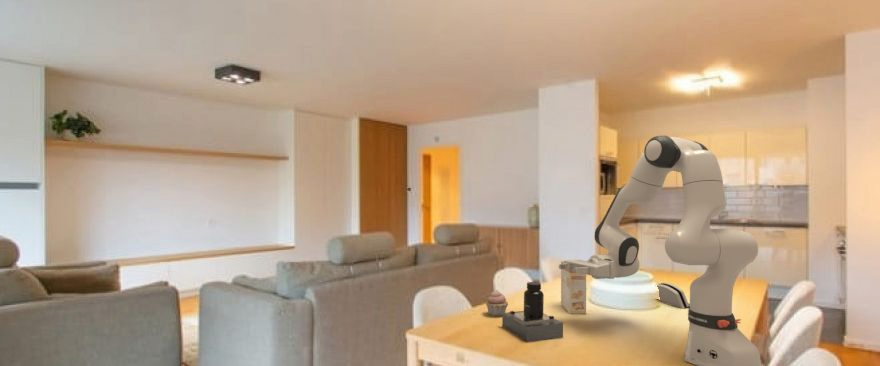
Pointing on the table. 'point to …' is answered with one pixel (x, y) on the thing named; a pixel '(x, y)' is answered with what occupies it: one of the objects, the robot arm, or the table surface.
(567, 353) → the table surface
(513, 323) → the box
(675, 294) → the grey curved wedge
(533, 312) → the supplement bottle
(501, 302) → the cupcake
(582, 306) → the coffeecake box
